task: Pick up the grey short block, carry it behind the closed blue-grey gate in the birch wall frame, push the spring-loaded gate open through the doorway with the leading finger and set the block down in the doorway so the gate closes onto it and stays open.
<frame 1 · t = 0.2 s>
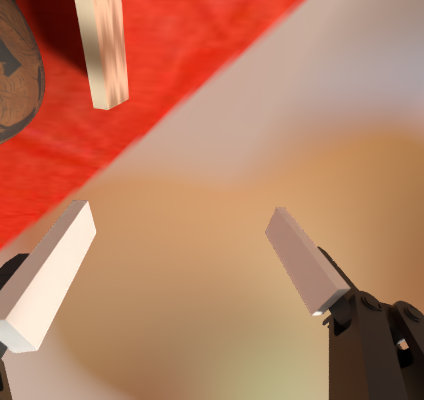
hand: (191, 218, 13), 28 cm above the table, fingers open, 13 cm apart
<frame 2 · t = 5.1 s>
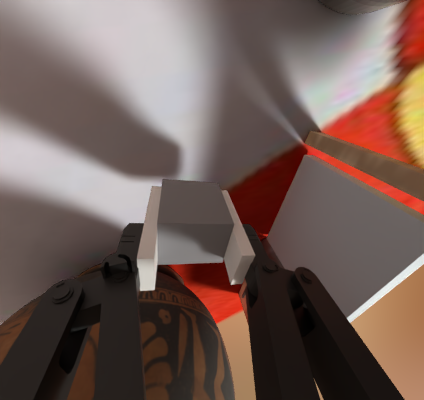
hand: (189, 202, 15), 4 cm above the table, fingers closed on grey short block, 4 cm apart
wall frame: (265, 242, 26), on the table
vase: (129, 289, 26), on the table
door: (319, 237, 17), point 6 cm above the table, hinge at 0.0°
grey short block: (189, 199, 15), point 3 cm above the table, touching gripper
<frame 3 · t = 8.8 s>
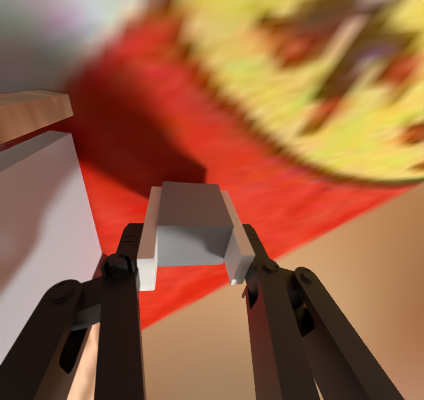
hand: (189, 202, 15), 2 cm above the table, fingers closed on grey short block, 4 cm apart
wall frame: (99, 258, 19), on the table
door: (38, 266, 10), point 6 cm above the table, hinge at 0.0°
grey short block: (189, 201, 15), point 1 cm above the table, touching gripper
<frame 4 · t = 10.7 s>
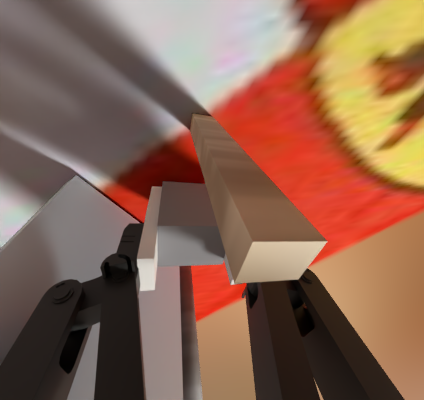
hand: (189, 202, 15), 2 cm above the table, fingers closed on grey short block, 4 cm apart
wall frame: (182, 256, 21), on the table
door: (117, 282, 12), point 6 cm above the table, hinge at 43.1°, touching hand
grey short block: (189, 201, 15), point 1 cm above the table, touching gripper
when the fingers open (2 cm above the table, at t = 12.3 s): grey short block drops 2 cm, on the table.
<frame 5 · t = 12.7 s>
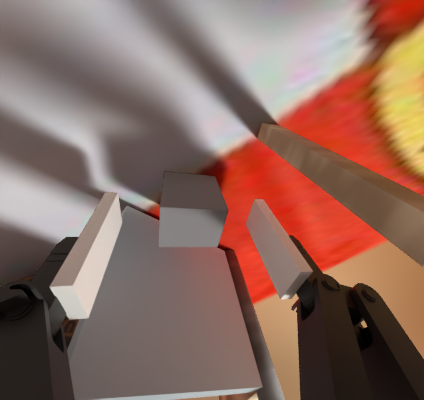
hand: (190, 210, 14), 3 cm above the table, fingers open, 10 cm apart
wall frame: (228, 253, 23), on the table
vase: (75, 303, 23), on the table
door: (181, 288, 14), point 6 cm above the table, hinge at 58.2°
grey short block: (188, 191, 16), on the table
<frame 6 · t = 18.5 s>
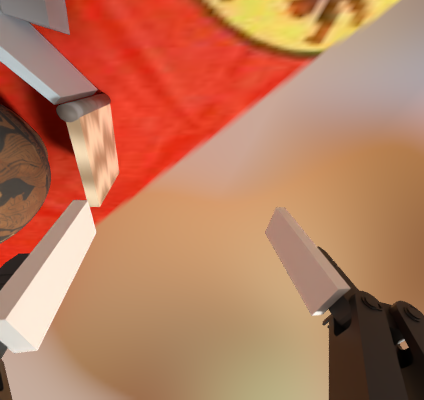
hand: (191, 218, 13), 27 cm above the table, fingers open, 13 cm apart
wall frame: (104, 99, 30), on the table
door: (28, 49, 21), point 6 cm above the table, hinge at 47.2°, touching grey short block
grey short block: (47, 11, 24), on the table, touching door
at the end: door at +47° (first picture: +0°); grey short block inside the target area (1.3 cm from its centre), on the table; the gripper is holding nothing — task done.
